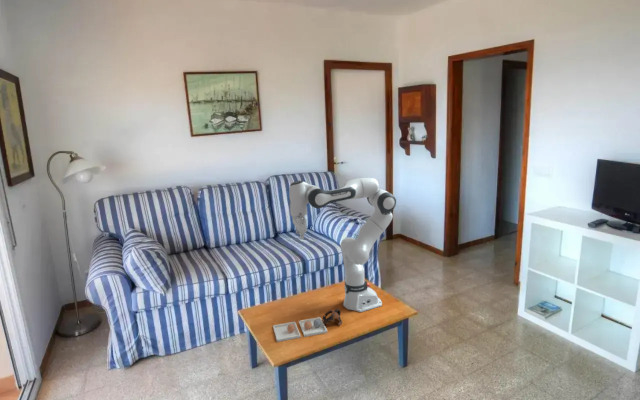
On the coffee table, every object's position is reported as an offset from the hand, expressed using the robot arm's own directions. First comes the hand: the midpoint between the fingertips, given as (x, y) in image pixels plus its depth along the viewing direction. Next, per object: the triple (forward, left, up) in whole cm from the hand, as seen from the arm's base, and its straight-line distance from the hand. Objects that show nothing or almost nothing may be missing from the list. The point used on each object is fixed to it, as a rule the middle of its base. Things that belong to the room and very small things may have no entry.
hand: (300, 236), depth 208 cm
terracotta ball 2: (+2, +16, -46) cm, 48 cm away
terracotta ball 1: (+11, +16, -46) cm, 50 cm away
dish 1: (+13, +16, -46) cm, 51 cm away
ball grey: (-3, +16, -46) cm, 49 cm away
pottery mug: (-13, +14, -47) cm, 50 cm away
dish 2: (-1, +16, -46) cm, 49 cm away
